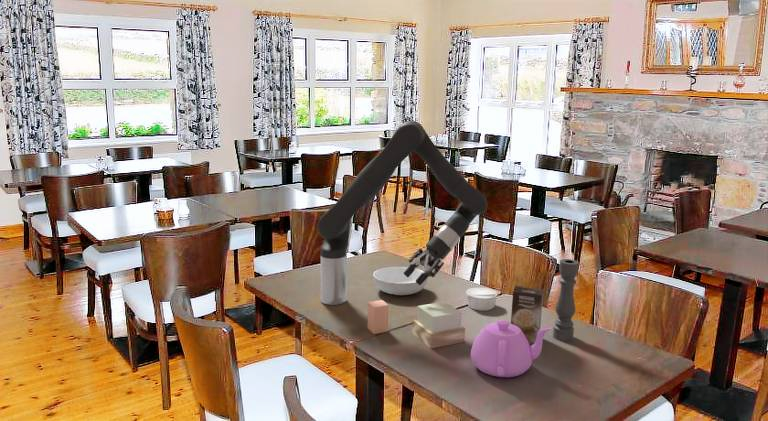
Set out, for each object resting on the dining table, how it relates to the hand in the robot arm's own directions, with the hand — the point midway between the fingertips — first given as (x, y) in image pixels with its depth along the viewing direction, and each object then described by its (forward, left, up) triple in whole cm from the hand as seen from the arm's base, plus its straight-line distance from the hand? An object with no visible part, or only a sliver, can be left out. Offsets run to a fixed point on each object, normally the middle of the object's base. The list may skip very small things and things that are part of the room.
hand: (411, 279), depth 203 cm
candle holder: (+28, +40, -16) cm, 51 cm away
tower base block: (+13, +3, -16) cm, 21 cm away
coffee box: (+24, +28, -16) cm, 40 cm away
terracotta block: (0, -12, -16) cm, 19 cm away
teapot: (+39, +11, -16) cm, 44 cm away
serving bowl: (-30, +11, -16) cm, 36 cm away
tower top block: (+13, +3, -11) cm, 17 cm away
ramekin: (-5, +31, -16) cm, 35 cm away
